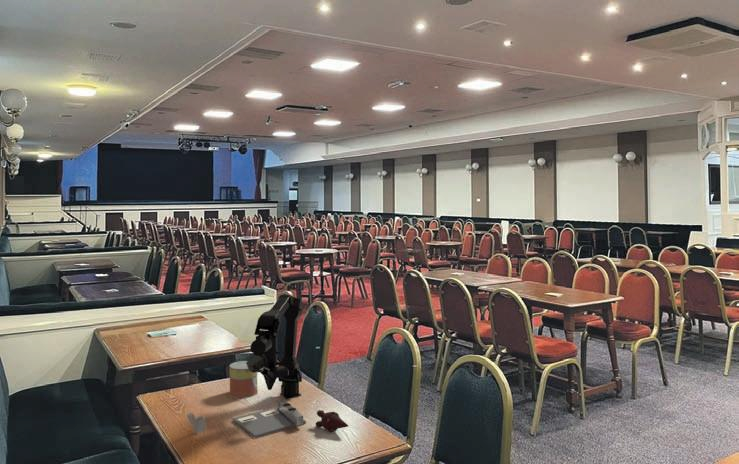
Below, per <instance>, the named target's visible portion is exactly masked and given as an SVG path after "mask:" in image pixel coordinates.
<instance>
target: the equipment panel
mask: <svg viewBox="0 0 739 464" xmlns="http://www.w3.org/2000/svg"><path fill="white" fill-rule="evenodd" d="M231 421H232V423H234V424H235V425H236V426H238V427H239V426H240V427H239V428H240V429H242V430H243V429H244V430H243V431H244V432H246V431H247V432H248V434H249V435H250V434H251V435H252V436H251V435H250V436H251V437H253V438H254V437H255V438H254V439H258V438H260V436H262V437H265V436H268V435H271V434H275V433H279V432H281V431H285V430H289V429H292V428H295V427H298V426H302V425H305V424H306V423H307V421H306V420H305V419H304V418H303V424H301V425H296V424H294V423H293V422H292V421H291V420H290V419H289V418H288V417H287V416H285V415H284V414H283V413H282V412H281V411H280V410H278V406H276V407H271V408H268V409H263V410H260V411H256V412H252V413H248V414H244V415H242V416H236V417H234V418H232V419H231ZM247 432H246V433H247ZM264 435H265V436H264ZM257 437H258V438H257Z"/></svg>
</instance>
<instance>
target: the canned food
mask: <svg viewBox="0 0 739 464" xmlns="http://www.w3.org/2000/svg"><path fill="white" fill-rule="evenodd" d="M247 361H248V360H240V361H235V362H232V363H230V364H229V366H228V367H229V396H230V397H232V398H235V399H246V398H247V399H248V398H251V397H254V396H256V395H258V371H257V372H255V373H252V372H251V371H249V369H248V367H247V364H246V362H247Z"/></svg>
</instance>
